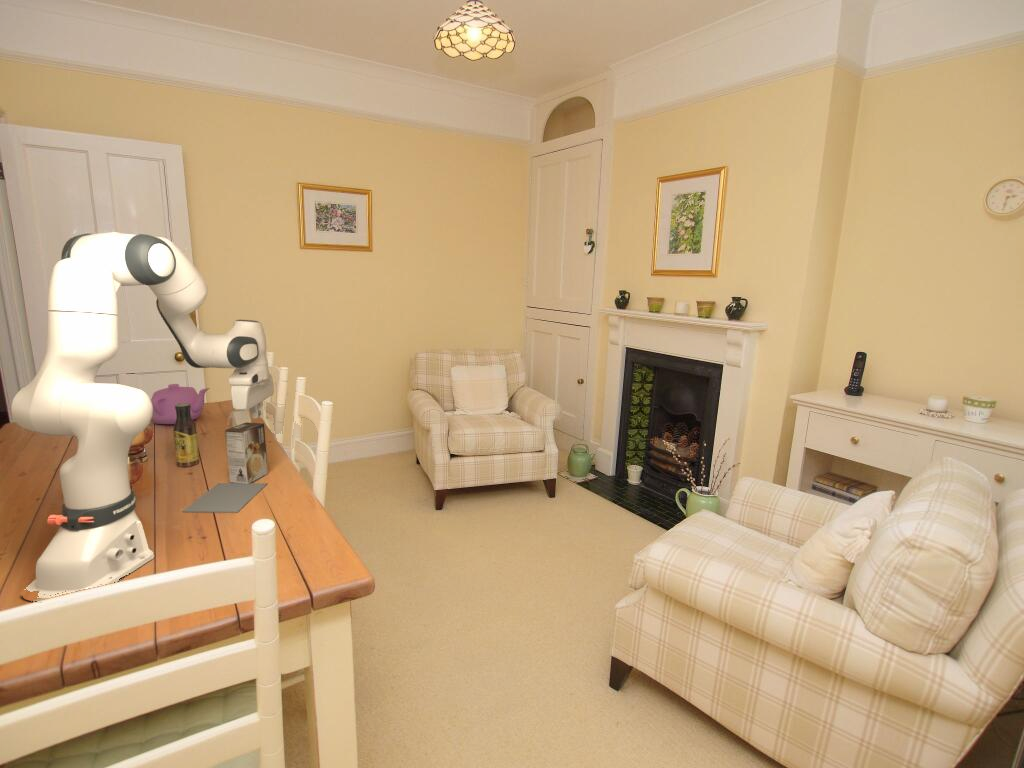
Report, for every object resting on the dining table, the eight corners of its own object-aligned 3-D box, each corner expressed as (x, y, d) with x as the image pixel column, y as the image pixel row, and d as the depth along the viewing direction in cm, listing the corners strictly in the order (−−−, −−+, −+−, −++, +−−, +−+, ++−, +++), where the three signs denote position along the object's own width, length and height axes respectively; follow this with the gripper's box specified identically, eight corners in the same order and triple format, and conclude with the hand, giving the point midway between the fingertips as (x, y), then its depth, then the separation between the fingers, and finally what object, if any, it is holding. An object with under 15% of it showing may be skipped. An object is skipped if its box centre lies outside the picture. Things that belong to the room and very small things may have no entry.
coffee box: (250, 471, 161) (246, 421, 158) (268, 473, 160) (265, 423, 157) (228, 482, 153) (224, 429, 150) (248, 484, 151) (244, 431, 148)
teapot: (135, 429, 199) (129, 391, 196) (172, 414, 220) (168, 379, 217) (193, 431, 198) (188, 392, 195) (225, 416, 219) (221, 380, 216)
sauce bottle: (172, 465, 165) (164, 404, 161) (192, 459, 171) (185, 400, 166) (184, 469, 162) (177, 407, 158) (204, 463, 168) (197, 403, 163)
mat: (237, 512, 135) (237, 511, 135) (182, 512, 135) (182, 511, 135) (267, 484, 153) (267, 483, 153) (218, 483, 152) (218, 482, 152)
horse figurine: (233, 458, 196) (249, 451, 177) (225, 415, 197) (239, 404, 178) (247, 455, 199) (264, 448, 180) (239, 413, 201) (255, 401, 182)
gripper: (257, 366, 168) (261, 407, 171) (225, 380, 148) (230, 427, 151) (277, 366, 168) (280, 407, 171) (247, 380, 148) (252, 427, 151)
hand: (256, 417), depth 161 cm, fingers closed
